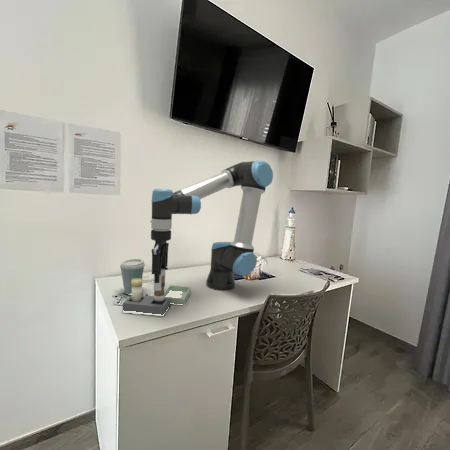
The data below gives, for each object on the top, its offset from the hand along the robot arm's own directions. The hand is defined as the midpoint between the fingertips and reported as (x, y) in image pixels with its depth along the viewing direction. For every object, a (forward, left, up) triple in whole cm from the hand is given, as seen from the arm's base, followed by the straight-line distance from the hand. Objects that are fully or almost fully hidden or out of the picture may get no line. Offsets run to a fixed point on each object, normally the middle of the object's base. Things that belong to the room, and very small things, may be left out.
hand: (159, 287), depth 103 cm
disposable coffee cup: (+18, -15, -10) cm, 25 cm away
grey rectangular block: (+5, 0, -10) cm, 11 cm away
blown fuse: (0, 0, -5) cm, 5 cm away
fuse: (+9, 0, -10) cm, 13 cm away
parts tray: (-3, -14, -10) cm, 17 cm away
